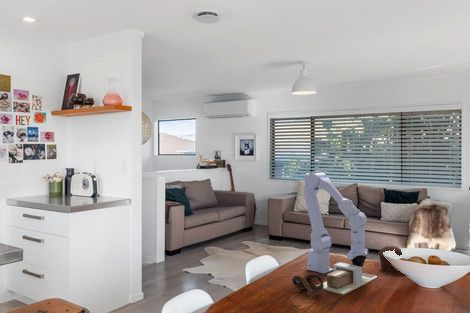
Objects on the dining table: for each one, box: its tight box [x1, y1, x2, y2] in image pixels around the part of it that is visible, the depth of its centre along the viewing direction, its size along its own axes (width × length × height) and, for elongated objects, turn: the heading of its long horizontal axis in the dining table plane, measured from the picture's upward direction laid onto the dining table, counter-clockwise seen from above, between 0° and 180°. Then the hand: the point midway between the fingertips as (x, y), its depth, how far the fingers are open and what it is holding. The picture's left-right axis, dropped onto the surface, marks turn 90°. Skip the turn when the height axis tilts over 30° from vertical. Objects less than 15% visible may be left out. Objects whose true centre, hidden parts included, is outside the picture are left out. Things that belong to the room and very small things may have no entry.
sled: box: [326, 269, 353, 289], centre depth 159 cm, size 5×19×4 cm, turn 135°
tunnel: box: [316, 262, 379, 296], centre depth 161 cm, size 12×28×7 cm, turn 135°
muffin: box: [378, 245, 402, 272], centre depth 179 cm, size 12×11×10 cm
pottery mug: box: [291, 272, 324, 297], centre depth 149 cm, size 12×10×8 cm
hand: (358, 273), depth 167 cm, fingers closed
